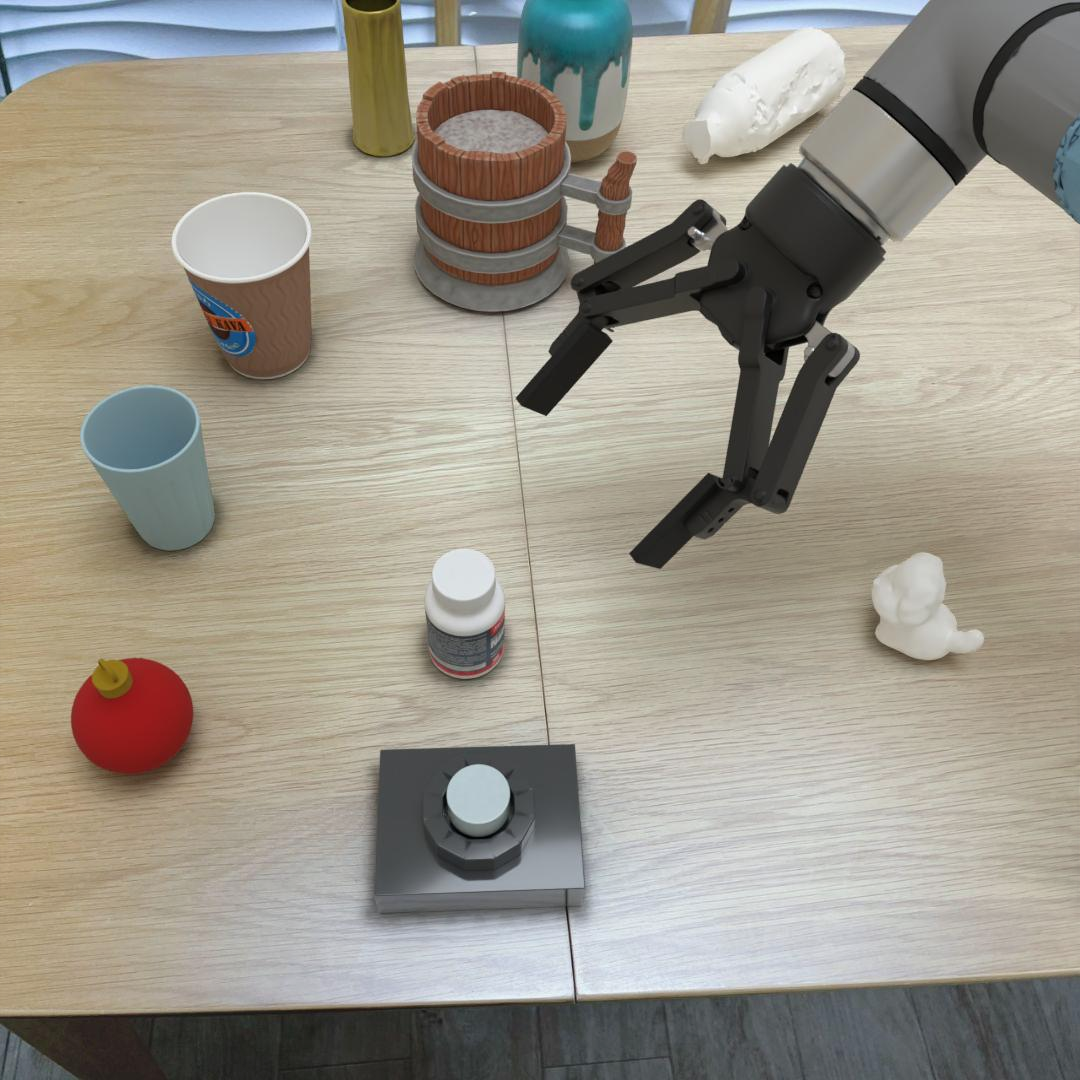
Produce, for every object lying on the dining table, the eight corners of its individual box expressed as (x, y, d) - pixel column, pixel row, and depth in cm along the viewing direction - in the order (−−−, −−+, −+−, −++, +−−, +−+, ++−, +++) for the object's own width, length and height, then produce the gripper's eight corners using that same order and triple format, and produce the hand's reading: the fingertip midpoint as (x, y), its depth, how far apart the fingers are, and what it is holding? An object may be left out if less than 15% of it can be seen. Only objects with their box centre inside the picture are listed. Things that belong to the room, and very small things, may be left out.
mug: (452, 198, 104) (446, 48, 92) (644, 251, 100) (665, 102, 88) (387, 289, 96) (371, 139, 84) (592, 351, 92) (607, 203, 80)
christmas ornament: (226, 739, 71) (191, 662, 62) (133, 815, 67) (84, 744, 59) (161, 672, 73) (119, 590, 65) (68, 741, 70) (12, 664, 62)
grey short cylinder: (508, 777, 65) (509, 762, 63) (510, 836, 63) (510, 822, 61) (447, 779, 65) (446, 764, 63) (447, 838, 62) (446, 824, 61)
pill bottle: (504, 681, 74) (505, 611, 66) (426, 680, 74) (419, 610, 66) (505, 614, 77) (506, 540, 70) (430, 613, 77) (423, 539, 69)
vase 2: (518, 114, 112) (522, -81, 97) (621, 119, 112) (641, -75, 97) (512, 177, 106) (515, -21, 91) (621, 183, 106) (643, -14, 91)
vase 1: (373, 115, 111) (359, -26, 100) (426, 132, 110) (417, -9, 98) (341, 146, 108) (323, 4, 97) (395, 164, 107) (382, 22, 95)
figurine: (861, 589, 79) (894, 522, 73) (971, 624, 78) (1015, 559, 71) (847, 649, 76) (879, 585, 70) (961, 686, 75) (1005, 625, 68)
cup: (251, 502, 82) (222, 407, 73) (190, 579, 78) (152, 487, 69) (167, 467, 84) (129, 370, 75) (103, 540, 79) (55, 446, 71)
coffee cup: (180, 348, 91) (143, 231, 81) (280, 291, 95) (256, 174, 86) (255, 415, 87) (225, 300, 77) (356, 352, 91) (339, 236, 82)
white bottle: (658, 159, 109) (668, 85, 102) (775, 86, 117) (791, 13, 110) (720, 195, 105) (734, 121, 99) (836, 118, 114) (856, 45, 107)
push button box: (572, 765, 70) (576, 730, 66) (581, 905, 65) (587, 877, 61) (384, 770, 70) (377, 736, 66) (378, 913, 64) (370, 885, 60)
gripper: (1023, 369, 56) (731, 641, 63) (739, 115, 68) (524, 367, 76) (982, 324, 50) (665, 630, 57) (680, 55, 62) (452, 334, 70)
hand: (584, 480), depth 66 cm, fingers open, 13 cm apart
